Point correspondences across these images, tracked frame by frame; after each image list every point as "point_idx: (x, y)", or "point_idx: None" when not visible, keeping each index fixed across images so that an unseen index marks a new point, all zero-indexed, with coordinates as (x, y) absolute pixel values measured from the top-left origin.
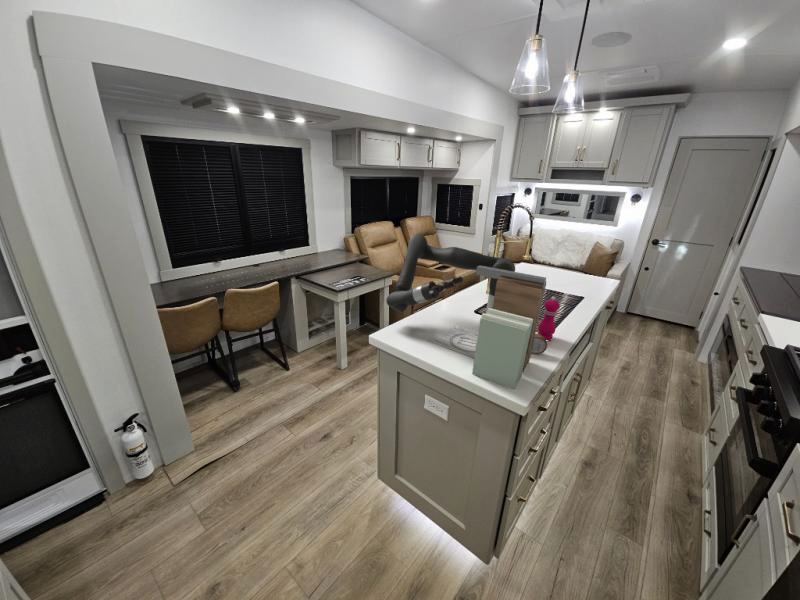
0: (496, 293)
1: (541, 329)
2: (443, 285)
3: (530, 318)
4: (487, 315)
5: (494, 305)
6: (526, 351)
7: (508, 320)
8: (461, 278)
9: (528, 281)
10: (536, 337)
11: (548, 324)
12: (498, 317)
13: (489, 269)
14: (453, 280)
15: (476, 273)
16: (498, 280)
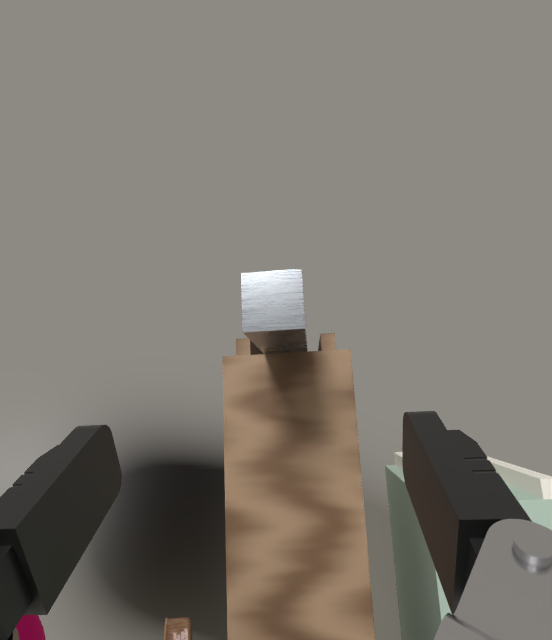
0: (355, 416)
1: None
2: (549, 539)
3: (396, 453)
4: (539, 473)
5: (361, 489)
6: (397, 593)
7: (488, 458)
8: (113, 445)
9: (307, 351)
10: (190, 627)
11: (34, 619)
12: (503, 465)
13: (303, 296)
14: (11, 557)
15: (304, 319)
16: (335, 349)
